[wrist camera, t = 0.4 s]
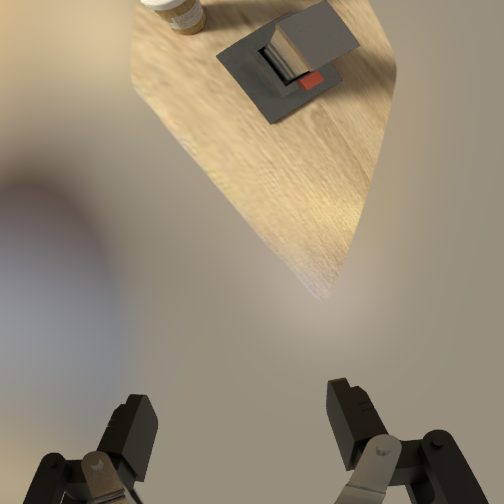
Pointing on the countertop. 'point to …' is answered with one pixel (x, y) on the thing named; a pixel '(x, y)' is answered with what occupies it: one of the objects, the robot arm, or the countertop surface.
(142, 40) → the countertop surface
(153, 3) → the sprinkles bottle
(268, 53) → the column
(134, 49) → the countertop surface
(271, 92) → the stand base
